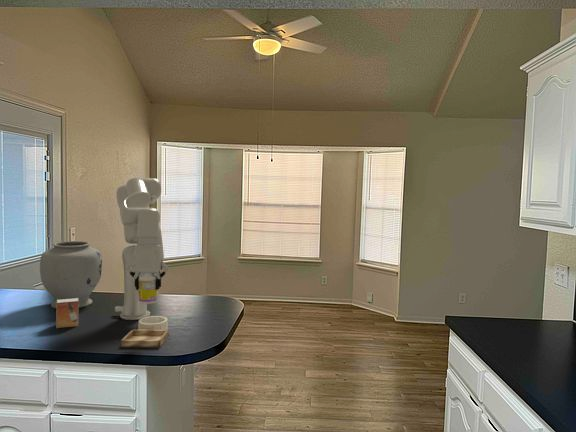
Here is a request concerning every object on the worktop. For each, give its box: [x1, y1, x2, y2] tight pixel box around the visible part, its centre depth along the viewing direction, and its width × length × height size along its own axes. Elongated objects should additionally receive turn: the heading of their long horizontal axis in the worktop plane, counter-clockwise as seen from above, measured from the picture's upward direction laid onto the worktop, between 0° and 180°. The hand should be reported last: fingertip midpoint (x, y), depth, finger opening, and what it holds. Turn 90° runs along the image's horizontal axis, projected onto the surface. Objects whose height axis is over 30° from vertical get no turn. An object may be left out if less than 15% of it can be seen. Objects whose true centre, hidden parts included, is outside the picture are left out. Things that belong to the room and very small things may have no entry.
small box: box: [55, 298, 79, 329], centre depth 172 cm, size 8×6×10 cm
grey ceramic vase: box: [39, 240, 103, 309], centre depth 202 cm, size 27×27×30 cm
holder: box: [137, 315, 169, 330], centre depth 170 cm, size 11×11×4 cm
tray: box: [120, 328, 170, 349], centre depth 157 cm, size 14×12×2 cm
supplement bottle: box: [139, 273, 158, 305], centre depth 157 cm, size 7×7×13 cm
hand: (148, 288), depth 157 cm, fingers closed on supplement bottle, 6 cm apart
